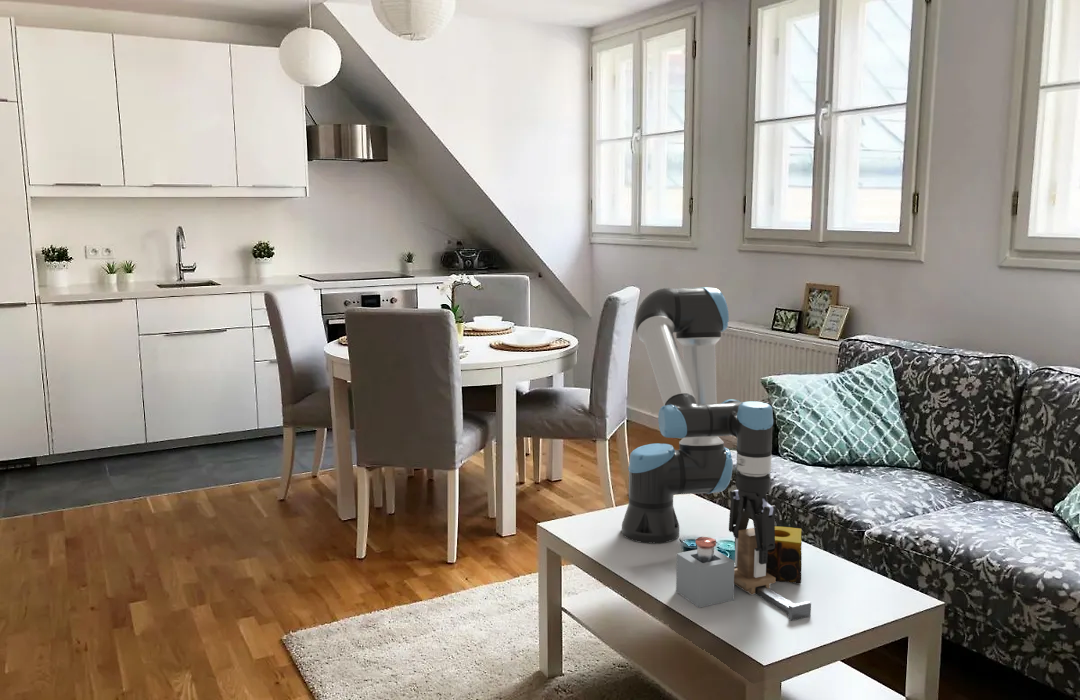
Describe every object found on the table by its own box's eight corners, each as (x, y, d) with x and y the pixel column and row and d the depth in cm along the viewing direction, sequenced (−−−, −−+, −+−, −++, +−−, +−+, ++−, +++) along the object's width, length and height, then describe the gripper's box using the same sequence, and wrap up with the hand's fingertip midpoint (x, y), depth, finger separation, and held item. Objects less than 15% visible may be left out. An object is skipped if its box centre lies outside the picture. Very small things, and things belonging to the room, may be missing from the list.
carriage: (724, 582, 204) (725, 528, 202) (752, 576, 207) (754, 523, 205) (745, 595, 197) (747, 540, 195) (775, 589, 200) (777, 535, 198)
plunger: (691, 559, 197) (691, 538, 196) (707, 556, 199) (708, 535, 198) (702, 566, 193) (703, 545, 192) (719, 563, 195) (720, 542, 194)
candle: (801, 585, 203) (802, 543, 201) (755, 580, 206) (756, 538, 204) (801, 568, 212) (803, 528, 211) (758, 563, 215) (759, 523, 214)
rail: (724, 578, 206) (725, 566, 206) (742, 575, 208) (742, 562, 208) (791, 620, 185) (792, 607, 185) (810, 616, 187) (811, 602, 187)
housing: (676, 591, 200) (676, 553, 198) (709, 584, 203) (710, 546, 202) (698, 607, 191) (699, 568, 190) (733, 600, 195) (734, 561, 194)
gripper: (714, 462, 205) (711, 558, 208) (767, 486, 187) (763, 589, 191) (740, 458, 208) (737, 553, 211) (795, 481, 190) (791, 583, 194)
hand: (750, 570), depth 201 cm, fingers open, 6 cm apart
